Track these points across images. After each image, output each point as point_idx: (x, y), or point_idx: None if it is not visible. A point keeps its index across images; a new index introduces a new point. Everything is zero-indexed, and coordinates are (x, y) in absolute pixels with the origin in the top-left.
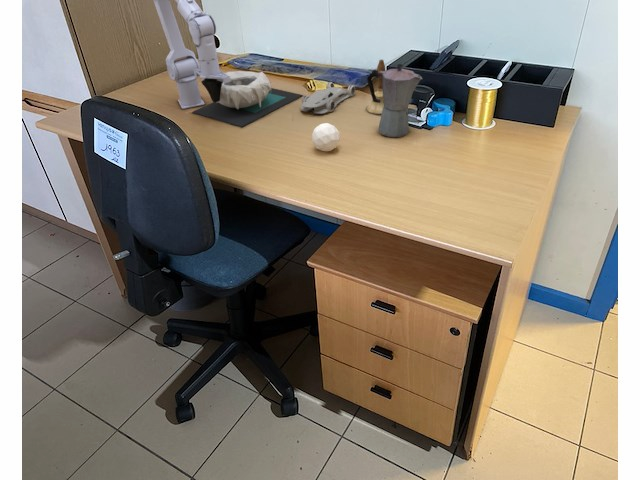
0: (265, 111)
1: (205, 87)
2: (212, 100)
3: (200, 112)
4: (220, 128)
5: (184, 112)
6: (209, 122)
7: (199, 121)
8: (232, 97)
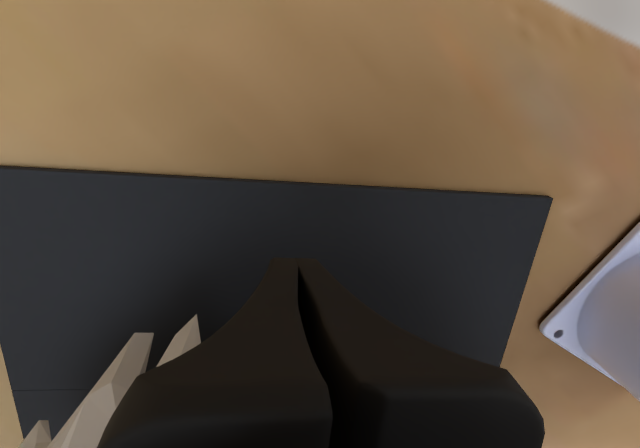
0: (56, 429)
1: (413, 337)
2: (314, 262)
3: (485, 219)
4: (120, 64)
5: (611, 178)
6: (306, 121)
7: (398, 99)
8: (94, 394)
